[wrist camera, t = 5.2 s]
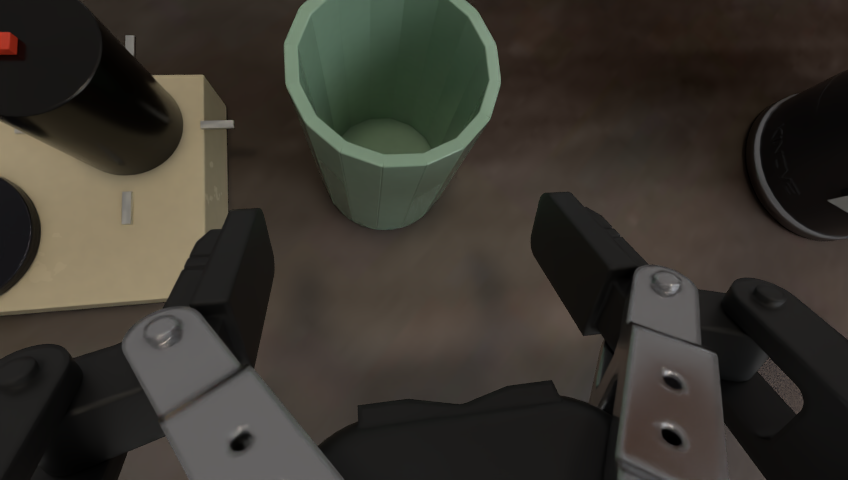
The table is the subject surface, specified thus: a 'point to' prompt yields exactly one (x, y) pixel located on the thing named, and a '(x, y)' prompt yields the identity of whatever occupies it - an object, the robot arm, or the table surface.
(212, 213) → the stove
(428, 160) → the green cup
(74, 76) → the stove knob
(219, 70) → the table surface
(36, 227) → the burner
